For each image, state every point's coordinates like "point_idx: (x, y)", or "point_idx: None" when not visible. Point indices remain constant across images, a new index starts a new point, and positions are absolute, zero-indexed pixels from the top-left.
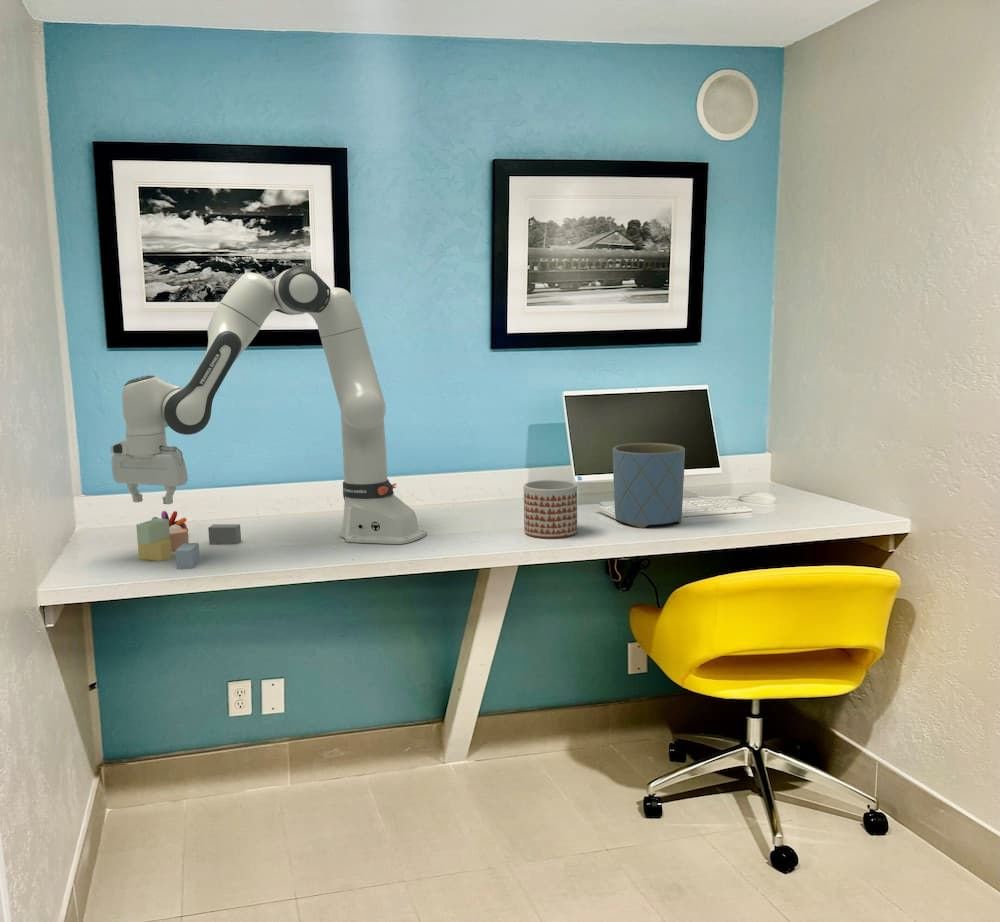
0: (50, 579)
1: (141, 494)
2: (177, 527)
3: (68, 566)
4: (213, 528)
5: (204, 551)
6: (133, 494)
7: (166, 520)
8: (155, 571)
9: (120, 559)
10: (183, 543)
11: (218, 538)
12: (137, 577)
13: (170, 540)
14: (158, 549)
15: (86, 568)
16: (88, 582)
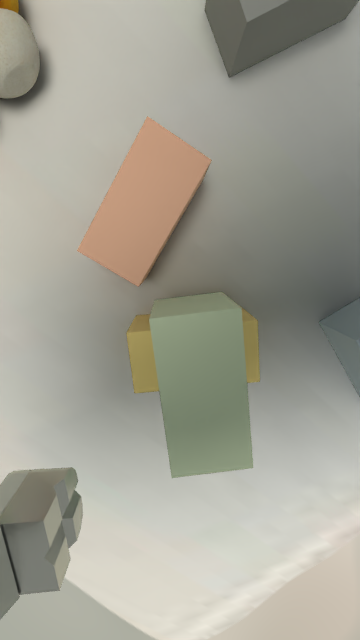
0: (103, 600)
1: (48, 529)
2: (8, 39)
3: None
4: (274, 11)
5: (292, 184)
6: (7, 607)
7: (242, 326)
8: (314, 442)
9: (93, 398)
10: (358, 342)
11: (277, 38)
12: (310, 501)
13: (256, 321)
14: None
15: (91, 504)
16: (221, 577)
